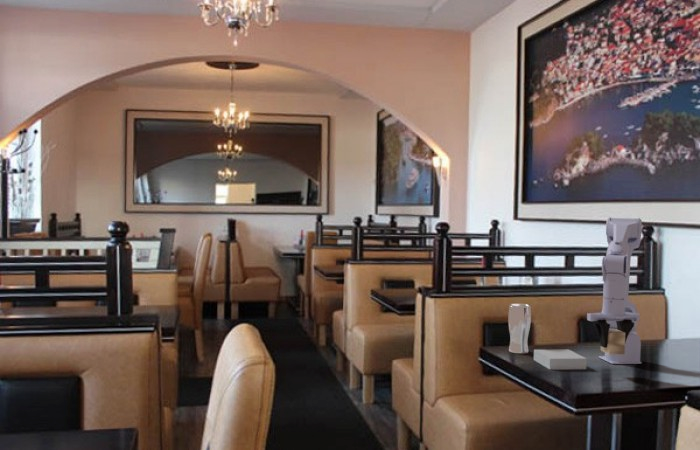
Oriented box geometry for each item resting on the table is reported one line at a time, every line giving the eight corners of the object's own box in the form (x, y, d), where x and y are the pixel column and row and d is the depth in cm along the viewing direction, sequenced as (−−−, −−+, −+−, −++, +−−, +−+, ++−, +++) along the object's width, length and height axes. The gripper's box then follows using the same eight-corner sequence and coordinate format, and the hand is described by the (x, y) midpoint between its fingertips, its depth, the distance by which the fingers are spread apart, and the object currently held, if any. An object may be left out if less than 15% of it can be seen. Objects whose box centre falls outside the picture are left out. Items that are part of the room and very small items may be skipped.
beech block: (615, 350, 172) (616, 329, 172) (624, 354, 168) (625, 332, 167) (600, 350, 171) (601, 329, 171) (609, 354, 167) (609, 332, 167)
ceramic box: (568, 360, 186) (568, 349, 185) (586, 370, 175) (586, 358, 175) (533, 361, 184) (534, 349, 184) (549, 370, 173) (550, 358, 173)
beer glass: (530, 354, 191) (532, 307, 190) (507, 353, 192) (509, 305, 192) (528, 349, 197) (530, 303, 197) (506, 348, 199) (508, 302, 198)
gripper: (596, 300, 164) (595, 350, 165) (647, 300, 166) (645, 349, 166) (583, 296, 171) (582, 344, 172) (632, 296, 173) (630, 344, 173)
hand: (612, 346), depth 170 cm, fingers closed on beech block, 4 cm apart
